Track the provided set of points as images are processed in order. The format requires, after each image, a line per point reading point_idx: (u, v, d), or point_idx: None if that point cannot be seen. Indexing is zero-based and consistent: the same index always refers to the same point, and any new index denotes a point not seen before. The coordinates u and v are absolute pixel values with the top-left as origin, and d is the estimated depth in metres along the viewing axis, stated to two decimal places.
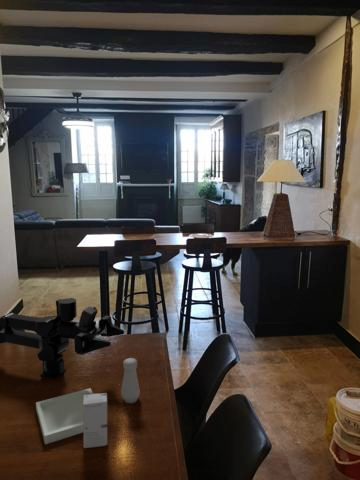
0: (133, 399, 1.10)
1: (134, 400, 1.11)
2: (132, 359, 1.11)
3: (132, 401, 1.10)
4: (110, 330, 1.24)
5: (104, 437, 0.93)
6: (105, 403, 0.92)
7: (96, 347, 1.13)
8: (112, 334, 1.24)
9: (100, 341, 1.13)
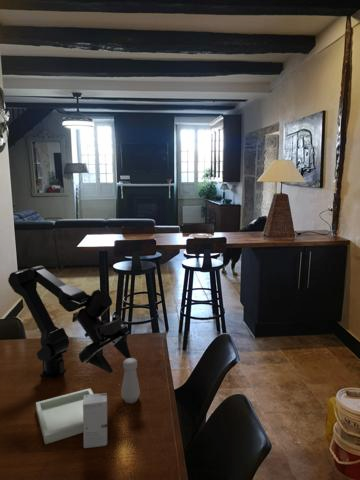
0: (133, 399, 1.10)
1: (134, 400, 1.11)
2: (132, 359, 1.11)
3: (132, 401, 1.10)
4: (120, 345, 1.18)
5: (104, 437, 0.93)
6: (105, 403, 0.92)
7: (98, 364, 1.09)
8: (119, 349, 1.18)
9: (105, 364, 1.08)
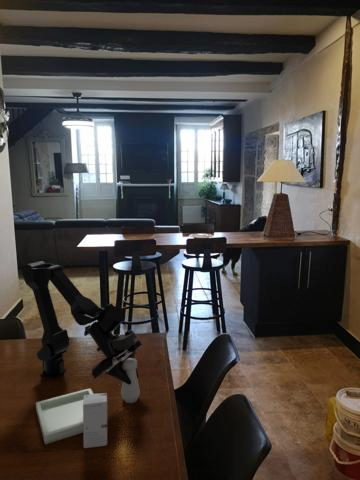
0: (133, 399, 1.10)
1: (134, 400, 1.11)
2: (132, 359, 1.11)
3: (132, 401, 1.10)
4: None
5: (104, 437, 0.93)
6: (105, 403, 0.92)
7: (117, 376, 1.10)
8: None
9: (124, 376, 1.09)
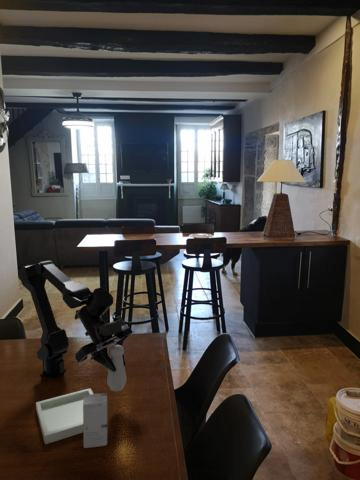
0: (118, 387, 1.06)
1: (119, 388, 1.07)
2: (119, 346, 1.07)
3: (117, 389, 1.07)
4: None
5: (104, 437, 0.93)
6: (105, 403, 0.92)
7: (102, 362, 1.06)
8: None
9: (108, 362, 1.05)
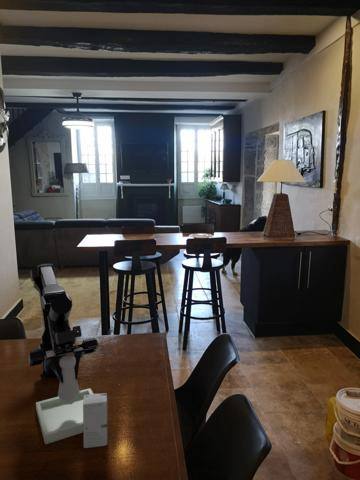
0: (65, 401, 1.01)
1: (67, 402, 1.01)
2: (70, 357, 1.01)
3: (65, 402, 1.01)
4: None
5: (104, 437, 0.93)
6: (105, 403, 0.92)
7: (54, 370, 1.02)
8: None
9: (57, 372, 1.01)
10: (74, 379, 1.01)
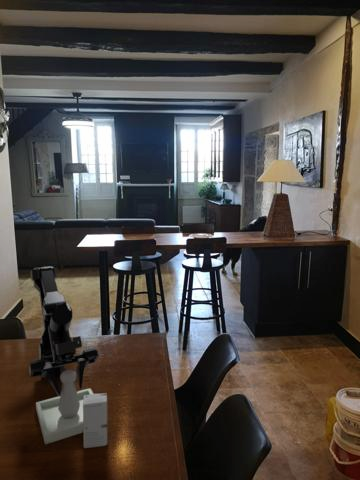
0: (65, 415, 1.01)
1: (68, 416, 1.02)
2: (71, 372, 1.02)
3: (65, 416, 1.02)
4: (78, 370, 1.06)
5: (104, 437, 0.93)
6: (105, 403, 0.92)
7: (50, 382, 1.02)
8: (77, 375, 1.06)
9: (53, 384, 1.00)
10: (75, 393, 1.02)
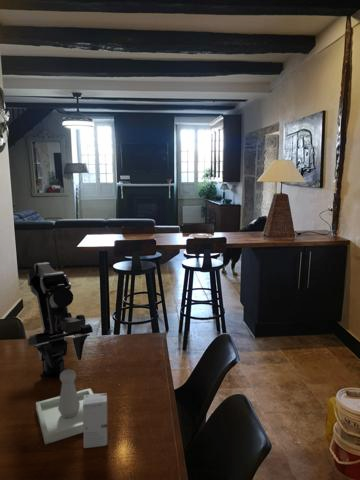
0: (65, 415, 1.01)
1: (68, 416, 1.02)
2: (70, 371, 1.02)
3: (65, 416, 1.02)
4: (77, 342, 1.15)
5: (104, 437, 0.93)
6: (105, 403, 0.92)
7: (43, 354, 1.07)
8: (75, 345, 1.15)
9: (48, 357, 1.06)
10: (74, 393, 1.02)
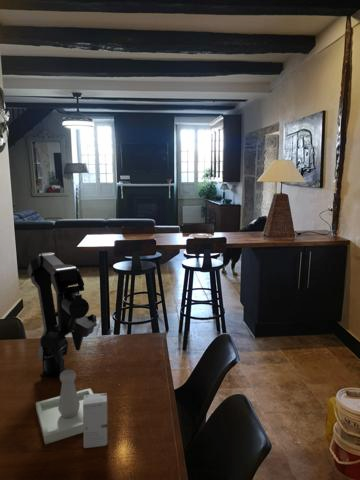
0: (65, 415, 1.01)
1: (68, 416, 1.02)
2: (70, 371, 1.02)
3: (65, 416, 1.02)
4: (77, 334, 1.16)
5: (104, 437, 0.93)
6: (105, 403, 0.92)
7: (52, 352, 1.06)
8: (73, 336, 1.16)
9: (59, 356, 1.06)
10: (74, 393, 1.02)
